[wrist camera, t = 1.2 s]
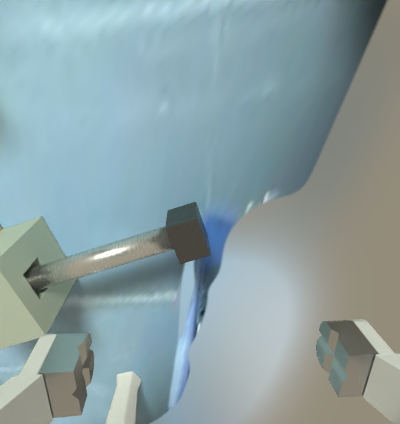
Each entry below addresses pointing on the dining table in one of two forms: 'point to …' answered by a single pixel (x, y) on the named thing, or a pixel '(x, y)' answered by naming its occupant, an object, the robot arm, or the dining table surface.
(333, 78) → the dining table surface
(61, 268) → the shaft
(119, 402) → the perfume bottle
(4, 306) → the bearing block
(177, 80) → the dining table surface
